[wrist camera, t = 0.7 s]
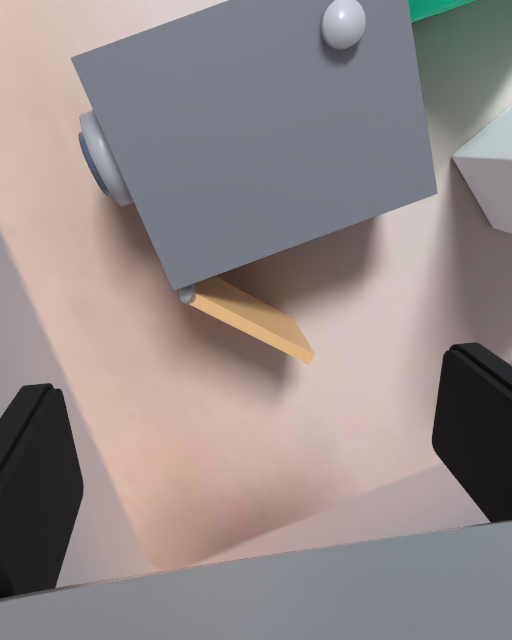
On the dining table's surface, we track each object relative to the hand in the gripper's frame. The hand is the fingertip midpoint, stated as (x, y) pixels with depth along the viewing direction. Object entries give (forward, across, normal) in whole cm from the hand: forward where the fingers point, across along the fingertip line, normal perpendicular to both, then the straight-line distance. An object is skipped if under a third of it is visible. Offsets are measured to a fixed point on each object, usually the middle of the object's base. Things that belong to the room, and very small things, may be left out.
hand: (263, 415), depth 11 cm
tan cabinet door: (+23, -1, +5) cm, 23 cm away
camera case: (+23, -3, -7) cm, 24 cm away
